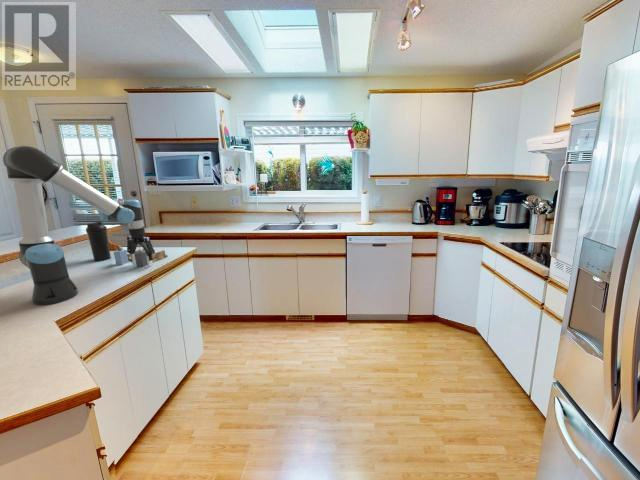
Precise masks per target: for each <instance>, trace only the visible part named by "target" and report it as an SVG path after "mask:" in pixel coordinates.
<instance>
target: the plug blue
mask: <svg viewBox="0 0 640 480" xmlns="http://www.w3.org/2000/svg"><path fill="white" fill-rule="evenodd" d="M127 254H128V253H127V249H122V247H121V246H119V247H117V250H114V251H113V255H114V260H115V261H114V262H115V265H118V266H124V265H126V264H129V262H130V261H128V256H127Z"/></svg>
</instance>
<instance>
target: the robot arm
mask: <svg viewBox="0 0 640 480" xmlns="http://www.w3.org/2000/svg"><path fill="white" fill-rule="evenodd" d="M2 162H3V165H4V167H5V168H6V174H7V177H8V180H9V181H11V182H12V183H13V185H14V191H15V197H16V203H17V204H16V205H17V208H18V209H17V210H18V217H19V221H20V228H21V233H22V238H21V239H20V240H19V241H18V246H19V252H18V258H19V261H20V262H21V264H23V265H24V266H25V267H26V268H27V269H29V270H30V275H31V278H32V279H31V280H32V282H33V288H32V289H33V290H32V296H31V301H32V303H33V305H36V306H37V305H38V306H47V305H52V304H57V303H60V302H64V301H67V300H69V299H72V298H74V297H76V296H77V295H78V293H79V291H78V288H77V286H76V285H75V283H74V282H73V280H72V279H71V278H70V275H69V272H68V271H69V270H68V267H67V262H66V259H65V258H66V257H65V251H64V250H63V248H62V246H60V244H56V243H55V239H54V237H53V238H52V237H51V236H50V233H49V227H48V219H47V213H46V206H45V200H44V192H43V183H51V184H53V185H54V186H56V187H57V188H60V189H62V190H63V191H64V192H66V193H67V194H70V195H71V196H73V197H75V198H77V199H79V200H80V201H82V202H84V203H86V204H87V205H89V206H90V207H92V208H94V209H96V210H97V211H98V212H97V213H98V218H99V219H100V220H101V222H112V221H113V222H117V223H120V224H127V227H128V228H129V229H128V232H129V236H126V239H127V242H126V244H127V245H126V250H127V254H128V253H130V254H131V258H132V261H131V262H132V265H133V266H136V260H135V255H134V253H136V252H135V251H137V246H138V245H140V246H141V247H142V249H144V250H145V252H146V253H147V262H148V265H147V266H148V268H149V267H151V266H153V265H154V263H153V262H152V260H153V258H152V254H154V253H156V251H154V250H155V249H154V247H153V245H152V241H151V237H150V236H147V237H146V236H145V234H146V229H145V227H144V226H145V224H144V220H143V219H144V218H143V213H142V206H141V203H140V200H138V199H128V200H127V199H126V200H124V201H123V204H120V203H118V202H117V201H115V200H114V199H112V198H110V197H109V196H107V195H106V194H105V193H102V192H101V191H99V190H97V189H96V188H94V187H93V186H91V185H90V184H89V183H86V182H85V181H83V180H82V179H80V178H78V177H77V176H75V174H72V173H70V172H69V171H68V170H66V169H64V167H63V165H62V164H61V163H59V162H58V161H56V160H55V159H54V158H52V157H51V156H49V155H48V154H46V153H45V152H44V151H43V150H40V149H39V148H36V147H34V146H29V145H21V146H15V147H14V146H13V147H11V148H8V149H7V150H6V151H5V152H4V154H3V157H2Z"/></svg>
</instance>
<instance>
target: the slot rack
mask: <svg viewBox="0 0 640 480" xmlns="http://www.w3.org/2000/svg"><path fill="white" fill-rule="evenodd" d="M141 249H142V251H145V250H144V249H143V248H141ZM155 250H156V249H154V251H155ZM135 252H139V249H138V250H137V249H136V250H135ZM127 256H128V261H129V262H133V261H132V258H131V254H130V253H127ZM168 257H169V255H168V254H166V251H165V250H164V249H162V250H160V251H155V253H154V254H152V258H153V260H152V262H153V264H154V263H156V262H159V261H162V260H163V259H165V258H168Z"/></svg>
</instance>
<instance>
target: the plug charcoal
mask: <svg viewBox="0 0 640 480" xmlns="http://www.w3.org/2000/svg"><path fill="white" fill-rule="evenodd" d="M142 249H143V248H139V249H138V250H139V252H136V253H134V255H135V260H136V265H135V266H136V267H138V268H144V267H147V266H148V262H147V253H146V252H145V251H142Z"/></svg>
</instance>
